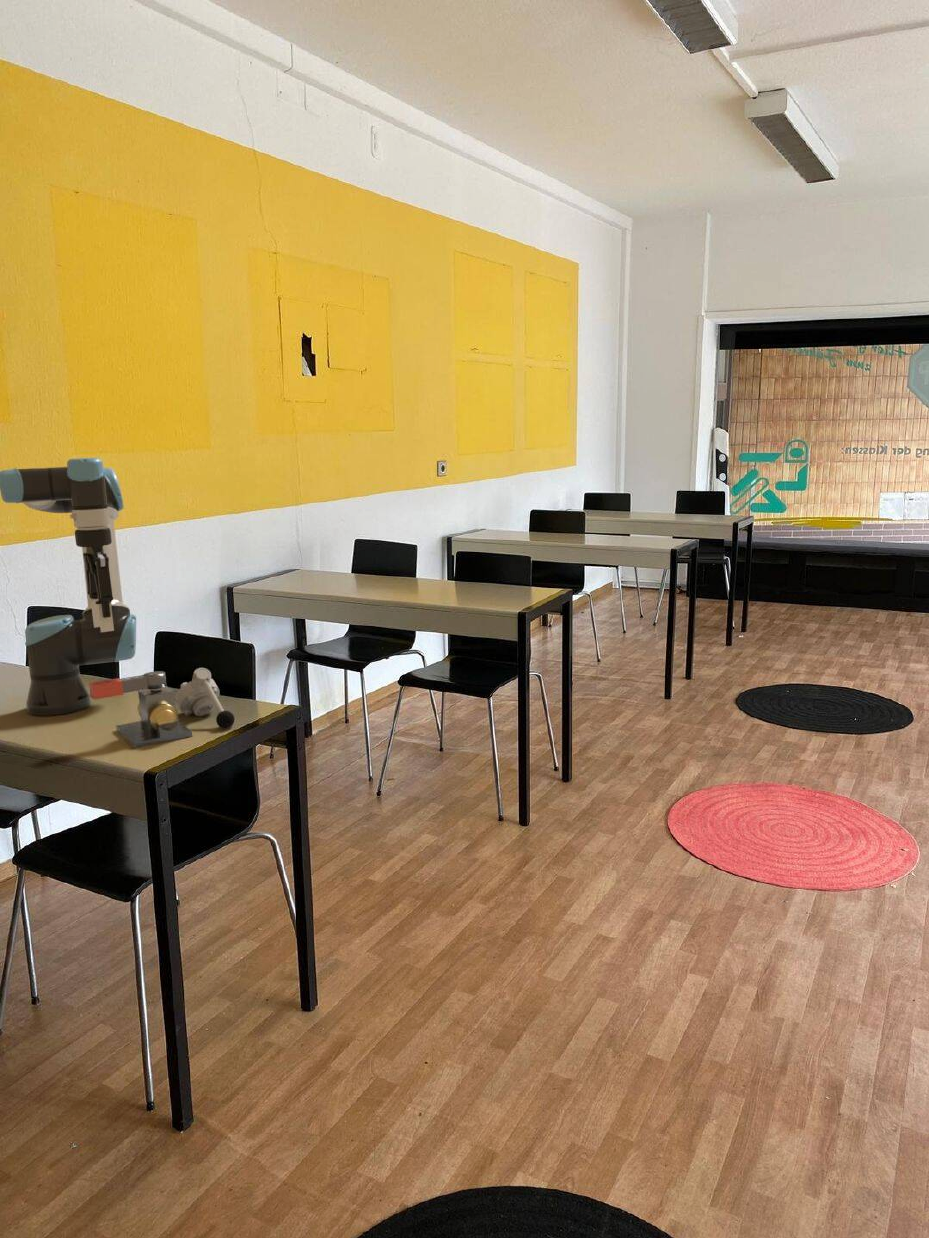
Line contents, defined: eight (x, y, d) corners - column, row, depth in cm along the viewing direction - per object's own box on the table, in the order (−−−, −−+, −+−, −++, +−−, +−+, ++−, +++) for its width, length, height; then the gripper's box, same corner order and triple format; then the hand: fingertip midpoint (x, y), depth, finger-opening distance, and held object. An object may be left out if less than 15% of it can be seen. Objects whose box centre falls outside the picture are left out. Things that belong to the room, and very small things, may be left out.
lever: (89, 695, 211) (88, 682, 210) (163, 682, 219) (161, 669, 219) (94, 700, 207) (92, 686, 206) (169, 687, 215) (167, 673, 215)
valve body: (116, 730, 221) (111, 685, 218) (171, 719, 228) (167, 675, 225) (134, 748, 207) (128, 700, 205) (192, 736, 214) (187, 689, 212)
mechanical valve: (209, 694, 238) (218, 658, 228) (240, 749, 231) (250, 714, 221) (171, 705, 232) (178, 669, 222) (200, 763, 225) (209, 727, 215)
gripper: (65, 526, 215) (77, 624, 220) (84, 532, 200) (96, 638, 204) (99, 523, 219) (110, 620, 224) (120, 529, 204) (131, 633, 208)
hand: (103, 628), depth 214 cm, fingers open, 6 cm apart
